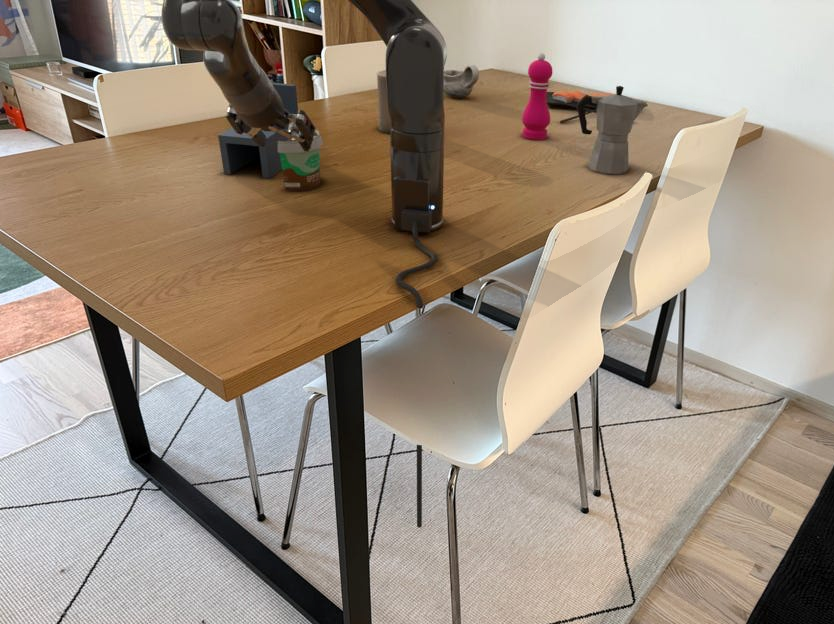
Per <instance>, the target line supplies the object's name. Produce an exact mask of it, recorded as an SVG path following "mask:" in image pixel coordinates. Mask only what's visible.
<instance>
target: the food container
mask: <svg viewBox="0 0 834 624" xmlns="http://www.w3.org/2000/svg"><path fill="white" fill-rule="evenodd" d="M298 135H299V134H298ZM323 145H324V142H323V138H322V135H321V134H320V131H319V130H318V129H315V133H314V138H313V141H312V144H311V149H309V151H304V150H303V148H302V147H301V145H300V144H299V142H298V140H296V139H294V138H292V137H291V138H289V139H288V140H287V141H278V152H279V153H280V159H281V165H282V169H281V171H282V176H283V182H284V189H285V190H284V191H287V192H289V191H290V192H292V191H293V192H300V191H307V190H312V189H315V188H317V187H319V186H320V185H321V147H322V146H323Z"/></svg>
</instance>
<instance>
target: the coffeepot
mask: <svg viewBox="0 0 834 624" xmlns="http://www.w3.org/2000/svg"><path fill="white" fill-rule="evenodd" d="M624 89H625V87H624V86H622V85H617V86H615V94H613V95H607V96H601V97H598V96H584V97H583V98H582V99H581V100H580V101H579V102H578V103H577V109H576V110H577V115H579V117H578V120H579V123H580V129H581V134H583V135H592V133H593V130H590V129H588V128H587V126H588V121H587V117H586V115H585V113H586V110H585V108H584V106H585V105H592V106H597V113H596V130H597V131H598V132H597V138H596V139H595V142H594V145H593V147H592V151H591V155H590V158H589V160H588V164H587V167H588V168H589V169H590V170H591V171H593V172H596V173H599V174H604V175H621V174H625V173H627V171H628V169H629V141H628V139H629V134H630V133H631V132H632V129H633V126H634V122H635V121H636V119H637V118H638V116H639V115H640V114H641V112H642V111H643V110H644V109H645V108H646V107H648V106H649V104H648V103H647V102H646V101H643V100H640V99H637V98H632V97H629V96H627V95H623V91H624Z"/></svg>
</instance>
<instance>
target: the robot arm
mask: <svg viewBox="0 0 834 624" xmlns="http://www.w3.org/2000/svg"><path fill="white" fill-rule="evenodd" d="M347 1H348V2H349V3H350V4H352V5H353V6H354V7H355V8H356V9H357V10H359V12H360V13H361V14H362V15H363V16H364V17H365V18H366V19H367V20H368V22H369V23H370V24H371V26H372V27H373V29H374V30H375V32H377V34H378V36H379V37H380V39H381V40H382V42H383V44H384V45H385V46H386V50H385V70H386V90H387V108H388V112H389V117H390V133H389V139H390V140H389V142H390V143H389V147H390V149H389V150H390V191H391V194H390V195H391V224H392V226H393V227H394V231H401V232H409V233H412V238H413V241H414V243H415V246H416V247H417V248H418V249H419V250H420V251H421V252H422V253H423V254H424V255H426V256H428V257H430V258H431V259H430V260H429V261H428V262H426V263H424V264H420V265H417V266H414V267H410V268H407V269H405V270H403V271H401V272H400V273H398V274H397V276H396V278H395V283H396V285H397V286H398V287H400V288H401V289H404V290H406V291H408V292H409V293H411V295H412V296H413V297H414V299H415V302H416V303H415V304H416V308H417V309H419V310H421V309H423V308H424V304H423V299H422V297H421V294H420V293H419V291H418V290H417V289H416V288H415V287H413V286H412V285H410V284H409V283H406V282H404V281H402V280H403V279H404V278H405V277H407V276H409V275H411V274H415V273H419V272H421V271H424V270H428V269H429V268H431V267H433V266H434V265H435V264H436V262H437V258H438V257H437V255H436V254H435V253H434V252H433V251H431V250H429V249H427V248H426V247H425V246H424V245H423V244H422V242H421V240H420V238H419V233H420V234H430V232H433V231H436V230H438V229H440V228H441V227H443V225H444V170H445V169H444V168H445V165H444V164H445V124H446V123H445V117H446V116H445V115H446V114H445V106H444V105H445V104H444V96H445V95H444V94H445V93H444V71H445V66H446V62H447V57H448V48H447V43H446V40H445V38H444V35H443V34H442V32H441V31H440V30H439V28H438V27H437V26H436V25H435V24H434V23H433V22H432V21H431V20H430V19H429V18H428V17H427V15H426V14H425V13H424V12H423V11H422V10H421V8H419V7H418V6H417V4H416V3H415V2H414V1H413V0H347ZM161 24H162V25H161V26H162V29H163V31H164V34H165V36H166V37H167V39H168V41H169V42H170V43H171V44H172V45H173V46H174V47H176V48H177V49H181V50H186V51H200V52H201V51H203V56H202V61H203V65H204V67H205V69H206V71H207V73H208V74H209V76H210V77H211V78H212V79H213V81H214V82H215V84H216V85H217V86H218V88H219V89H220V91H221V93H222V95H223V96H224V98H225V100H226V101H227V102H228V107H227V110H226V115H225V118H226V120H227V121H228V123H229V125H230V126H231V128H232V127H233V129H234V130H235V132H236V133H238V134H241V135H242V134H243V133H247V136H249V137H252V139H253V140H254V141H255V143H257V144H258V145H259V146H260V147H264V146H265V143H266V136H265V134H264V133H263V131H273V132H278V133H280V134H282V135H283V136H285V137H287V138H291V137H292V138H294V139H296V140H298V142H299V144H300V145H301V147H302V148H303V150H304V151H309V149H311V144H312V141H313V138H314V133H315V129H316V126H315V125H314V123H313V121H312V120H311V118H309V116H308V114H307V112H306V111H304V110H302V109H298V114H290V113H289V112H288V111H287V110H285V109H284V107H283V103H282V100H281V98H280V96H279V94H278V93H277V91H276V89H275V88H274V86H273V84H272V83H273V82H272V81H271V80H270V78H269V76H268V74H267V73H266V72H265V70H264V69H263V68H262V67H261V66H260V65H259V63H258V62H257V60H256V57H255V56H254V55H253V54H252V52H251V50H250V47H249V43H248V40H247V37H246V32H245V31H246V30H245V26H244V20H243V16H242V13H241V11H240V9H239V8H238V7H237V5H236V4H235V3H234V2H233V1H232V0H163V2H162V6H161ZM288 124H289V128H288V131H287V130H285V128H286V127H287V125H288ZM295 129H298V130H300V131H299V135H298V134H297V133H295ZM262 130H263V131H262ZM316 130H317V129H316ZM416 527H417V528H418V529H419V528H422V527H423V445H422V444H416Z"/></svg>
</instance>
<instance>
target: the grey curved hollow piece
mask: <svg viewBox="0 0 834 624" xmlns="http://www.w3.org/2000/svg"><path fill="white" fill-rule="evenodd" d="M479 77H480V70H479V68H478V66H476V65H474V64H468V65H466V66H465V67H464V69H463V70H459V69H446V70H445V69H444V94H445V95H446V96H448V97H451V98H456V99H457V98H458V99H459V98H460V99H461V98H466V97H467V96H469V95H470V94H471V93H472V91H473V87H474V86H475V85H476V84H477V82H478V80H479Z"/></svg>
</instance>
